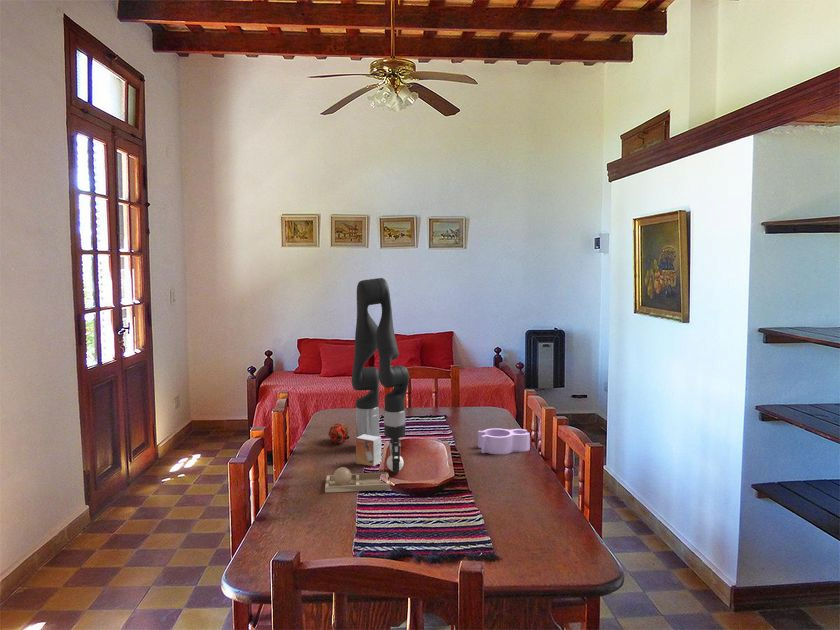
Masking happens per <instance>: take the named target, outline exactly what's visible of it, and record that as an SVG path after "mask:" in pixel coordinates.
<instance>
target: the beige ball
mask: <svg viewBox="0 0 840 630" xmlns="http://www.w3.org/2000/svg"><path fill="white" fill-rule="evenodd" d="M351 474H352V472H351V471H350V469H348V467H344V466H342V467H339V468H337V469H336V470H335V471H334V473H333V475H334V481H335V483H336V484H338V485H340V486H342V485H347V484H348V483H349V482H350V481H351V477H352V475H351Z"/></svg>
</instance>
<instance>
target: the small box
mask: <svg viewBox="0 0 840 630" xmlns="http://www.w3.org/2000/svg"><path fill="white" fill-rule="evenodd" d="M380 462H381V463H382V437H381V436H379V437H378V436H371V435H366V434H363V435H361V436H359V437H357V436H356V437H355V464H356V465H363V466H364V465H365V466H370V467H376V466H377V465H379V464H381V463H380Z"/></svg>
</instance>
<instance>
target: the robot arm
mask: <svg viewBox="0 0 840 630" xmlns="http://www.w3.org/2000/svg"><path fill="white" fill-rule="evenodd" d="M391 300H392V299H391V292H390V288H389V285H388V282H387V280H386V279H385V278H383V277H379V278H371V279H363V280H360V281H358V283H357V285H356V324H355V333H354V334H355V335H354V357H353V365H352V371H351V387H352V389H353V390H355V391H361V392H362V391H369V392H367V393H366V394H365V395H363V396H361V397H358V398H357V399H356V401H355V420H356V424H355V426H356V427H355V428H356V429H355V430H356V438H357V437H359V436H361V435H363V434H366V435H371V436H378V437H380V410H379V408H380V405H379V404H380V403H379V400H380V396H379V395H380V393H379V392H380V385H382V386H383V387H384V388H387V389H390V388H393V389H392V390H391V391H390V392H388V393H386V394H385V395H384V414H383V435H384V437H385V438H387V439H388V443H389V451H390V456H391V455H392V462H393V471H392V472H393V473H399V472H400V470H399V462H400V456H401V446H402V441H401V438H404V437H405V436H406V411H405V410H406V408H405V398H406V394H407V390H408V386H409V383H410V374H409V371H408V368H407V367H406V366H404V365H394V366H391V365H392V364H391V363H392V361H394V360H396V359H397V358H399V356H400V353H399V348H398V345H397V344H398V343H397V339H396V336H395V335H396V334H395V330H394V323H393V309H392V303H391V302H392V301H391ZM379 304H380V306H381V316H380V320H379V323H378V324H377V323H376V322H375V320H374V319H373V317H371V315H370V313H369V311H368V309H369V306H372V305H379ZM376 351H377V353H378V357H379V359H378V363H379V364H378V368H377V367H376V366H367V367H366V366H365V364H366V363H367V361H368V360H370V358H371V357H372V356H373V355H374V354H375V353H376ZM364 366H365V367H364ZM395 456H398V458H396V459H394V457H395Z"/></svg>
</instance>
